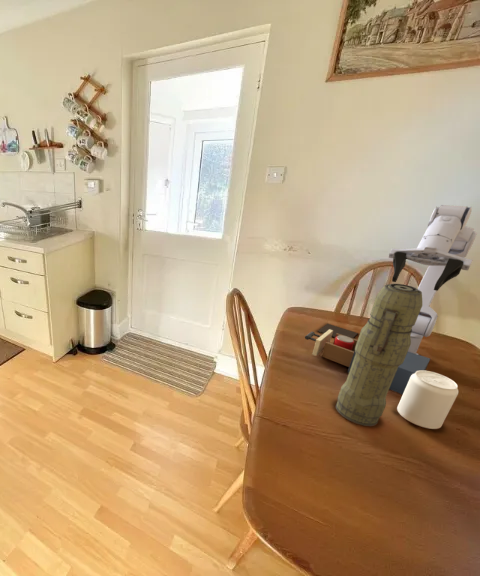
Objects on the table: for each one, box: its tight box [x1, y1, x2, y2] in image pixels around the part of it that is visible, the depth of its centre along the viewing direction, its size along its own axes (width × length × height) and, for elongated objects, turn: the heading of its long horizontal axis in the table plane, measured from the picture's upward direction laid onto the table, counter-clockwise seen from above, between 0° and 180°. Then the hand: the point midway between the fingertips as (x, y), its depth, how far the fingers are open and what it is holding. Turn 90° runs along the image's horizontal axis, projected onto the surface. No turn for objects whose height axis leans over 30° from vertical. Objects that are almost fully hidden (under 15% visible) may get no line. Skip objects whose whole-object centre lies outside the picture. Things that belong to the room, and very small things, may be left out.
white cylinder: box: [396, 370, 459, 430], centre depth 77 cm, size 8×8×12 cm
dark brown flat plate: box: [317, 323, 359, 339], centre depth 119 cm, size 10×10×1 cm
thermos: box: [335, 283, 422, 427], centre depth 74 cm, size 9×12×35 cm
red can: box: [333, 335, 354, 350], centre depth 101 cm, size 5×5×6 cm
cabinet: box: [347, 351, 431, 395], centre depth 93 cm, size 15×13×8 cm
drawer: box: [304, 329, 358, 368], centre depth 103 cm, size 18×11×6 cm, turn 37°
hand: (414, 283), depth 78 cm, fingers open, 7 cm apart
